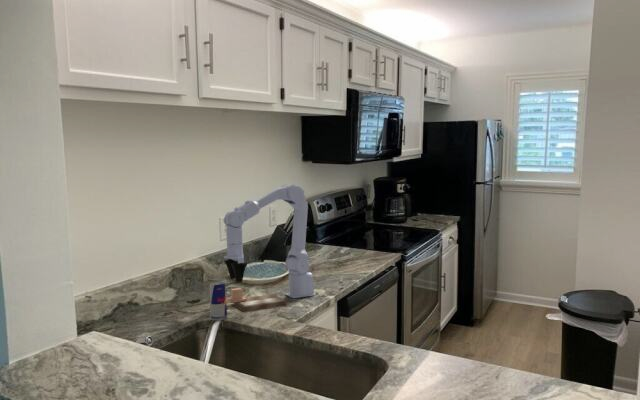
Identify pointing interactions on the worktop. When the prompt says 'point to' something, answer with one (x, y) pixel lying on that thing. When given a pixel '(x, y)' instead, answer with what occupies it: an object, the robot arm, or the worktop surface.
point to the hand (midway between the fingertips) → (236, 280)
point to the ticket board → (260, 302)
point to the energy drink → (218, 301)
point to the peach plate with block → (236, 296)
